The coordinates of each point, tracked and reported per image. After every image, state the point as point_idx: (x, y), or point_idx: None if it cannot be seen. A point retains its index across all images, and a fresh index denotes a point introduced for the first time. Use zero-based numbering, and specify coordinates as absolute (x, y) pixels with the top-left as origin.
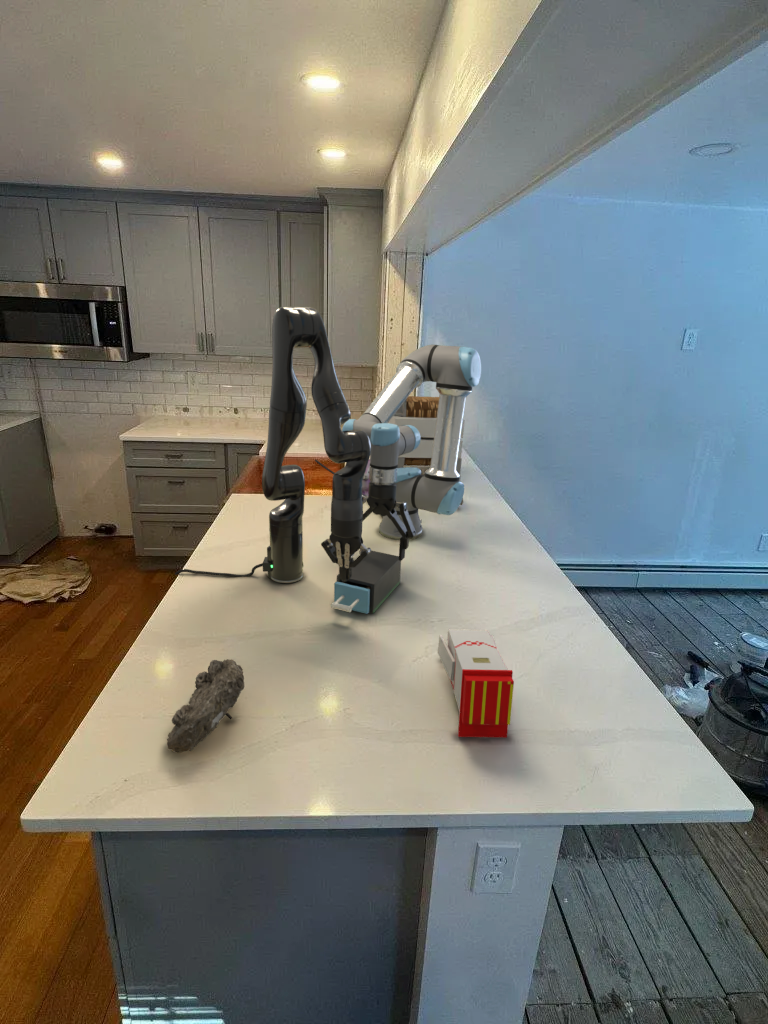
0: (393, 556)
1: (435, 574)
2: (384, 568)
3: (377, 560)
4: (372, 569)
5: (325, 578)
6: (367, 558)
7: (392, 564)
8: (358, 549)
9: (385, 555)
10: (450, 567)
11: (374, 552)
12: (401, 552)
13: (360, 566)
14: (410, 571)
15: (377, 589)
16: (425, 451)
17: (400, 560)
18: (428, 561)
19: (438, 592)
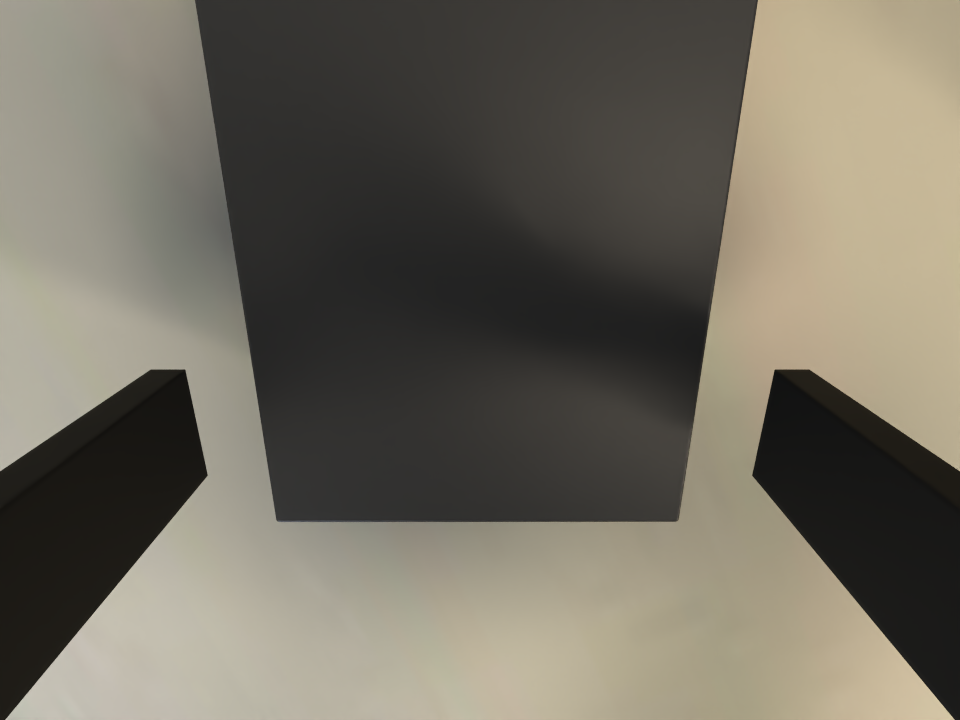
0: (349, 492)
1: (211, 594)
2: (279, 145)
3: (460, 322)
4: (401, 29)
5: (889, 217)
6: (592, 319)
7: (255, 304)
8: (765, 426)
9: (436, 478)
10: (183, 697)
11: (575, 491)
12: (75, 425)
13: (589, 38)
14: (363, 567)
15: None
16: None
17: (157, 370)
18: (328, 710)
19: (62, 391)
